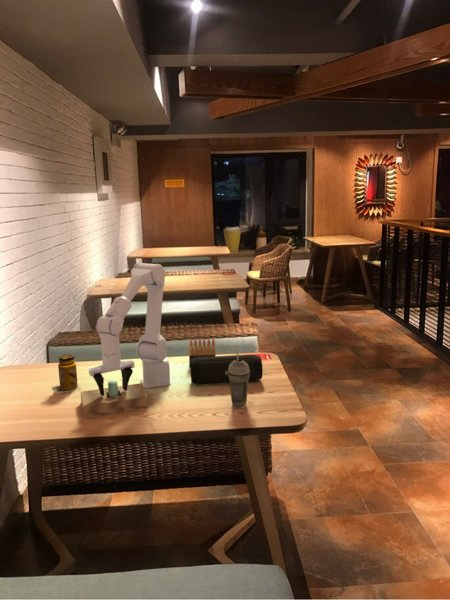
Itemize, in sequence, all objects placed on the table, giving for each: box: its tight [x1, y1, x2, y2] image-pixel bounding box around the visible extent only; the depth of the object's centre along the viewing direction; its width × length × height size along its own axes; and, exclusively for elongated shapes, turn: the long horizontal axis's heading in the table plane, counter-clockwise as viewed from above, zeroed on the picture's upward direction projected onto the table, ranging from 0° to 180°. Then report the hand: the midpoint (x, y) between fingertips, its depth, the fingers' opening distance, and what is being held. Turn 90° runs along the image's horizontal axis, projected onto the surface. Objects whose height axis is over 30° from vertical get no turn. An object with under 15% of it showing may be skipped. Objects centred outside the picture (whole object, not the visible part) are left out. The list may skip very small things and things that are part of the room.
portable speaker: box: [189, 354, 264, 386], centre depth 180 cm, size 26×10×10 cm, turn 97°
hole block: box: [80, 382, 149, 419], centre depth 162 cm, size 20×12×4 cm, turn 110°
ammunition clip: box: [188, 337, 217, 369], centre depth 196 cm, size 11×2×12 cm, turn 92°
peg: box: [107, 380, 118, 397], centre depth 162 cm, size 3×3×8 cm
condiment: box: [51, 353, 82, 395], centre depth 176 cm, size 7×8×12 cm
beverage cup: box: [228, 345, 250, 409], centre depth 159 cm, size 7×7×20 cm
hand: (113, 392), depth 161 cm, fingers open, 7 cm apart
